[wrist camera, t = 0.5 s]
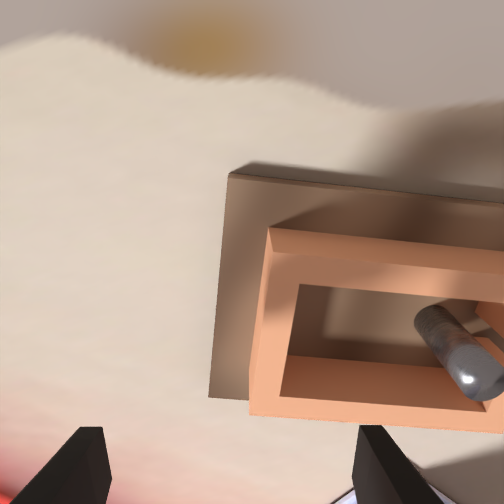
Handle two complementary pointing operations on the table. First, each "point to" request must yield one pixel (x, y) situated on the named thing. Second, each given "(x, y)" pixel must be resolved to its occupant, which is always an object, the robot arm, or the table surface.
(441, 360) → the hook post
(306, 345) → the stand base
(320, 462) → the table surface
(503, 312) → the c link
